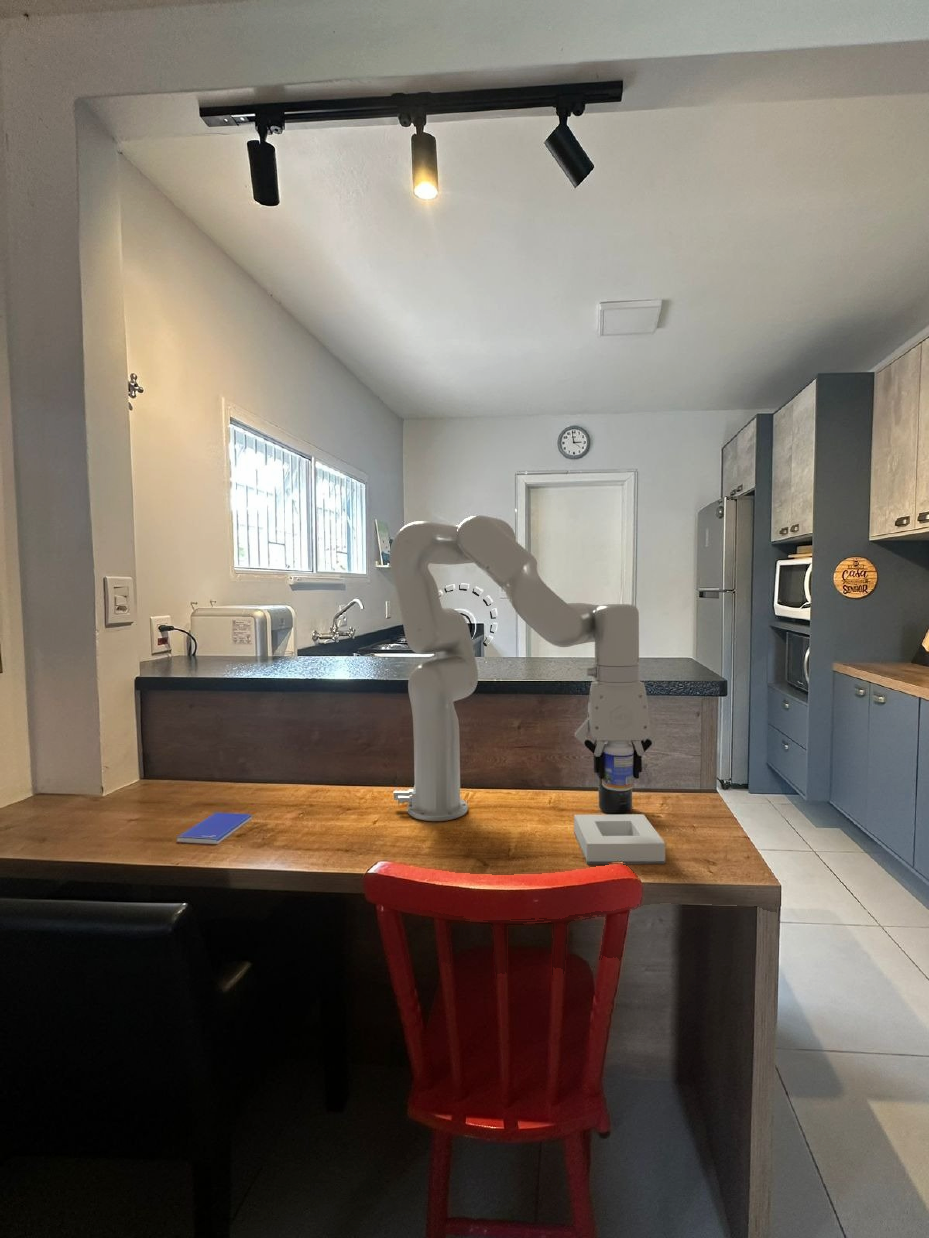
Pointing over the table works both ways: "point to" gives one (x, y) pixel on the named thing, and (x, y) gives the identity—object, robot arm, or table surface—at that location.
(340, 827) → the table surface
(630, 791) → the supplement bottle
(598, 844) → the housing
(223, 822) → the hard drive
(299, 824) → the table surface
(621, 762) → the pill bottle
